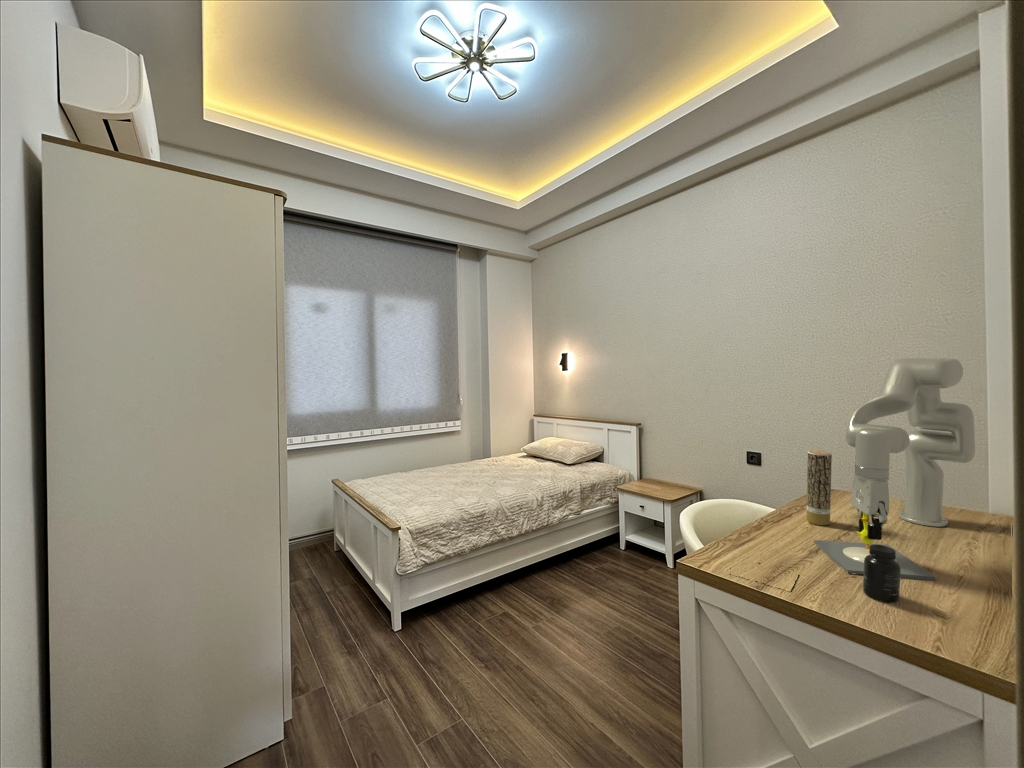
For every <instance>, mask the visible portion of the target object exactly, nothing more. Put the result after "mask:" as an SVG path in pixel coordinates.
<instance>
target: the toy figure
mask: <svg viewBox="0 0 1024 768" xmlns="http://www.w3.org/2000/svg"><path fill="white" fill-rule="evenodd" d="M875 518H876V517H874V519H875ZM861 520H862V521H863V524H864V530H863V531H862V532H859V531H855V532H856V533H857V534H858V536H859V538H860V539H861V540H862V543H867V546H866V548H865V549H869V550H870V546H869V544H873V542H875V540H873V539H868V538H867V533H868V525H870V524H869V515H866V514H865V513H863V518H861ZM887 522H888V521H887ZM887 522H884V523H883V526H884V525H885V524H887Z"/></svg>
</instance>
